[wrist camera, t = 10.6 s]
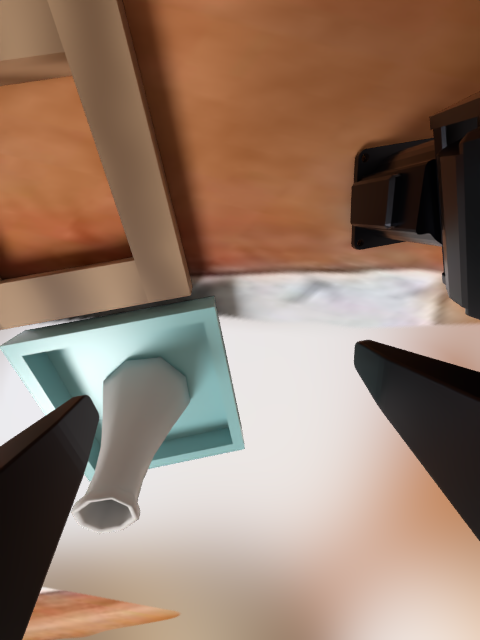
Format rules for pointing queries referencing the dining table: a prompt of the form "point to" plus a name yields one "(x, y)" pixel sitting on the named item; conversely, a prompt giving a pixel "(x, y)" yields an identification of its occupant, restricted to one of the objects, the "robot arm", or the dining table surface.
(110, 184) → the frame
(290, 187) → the dining table surface
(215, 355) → the teal tray
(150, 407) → the flask
